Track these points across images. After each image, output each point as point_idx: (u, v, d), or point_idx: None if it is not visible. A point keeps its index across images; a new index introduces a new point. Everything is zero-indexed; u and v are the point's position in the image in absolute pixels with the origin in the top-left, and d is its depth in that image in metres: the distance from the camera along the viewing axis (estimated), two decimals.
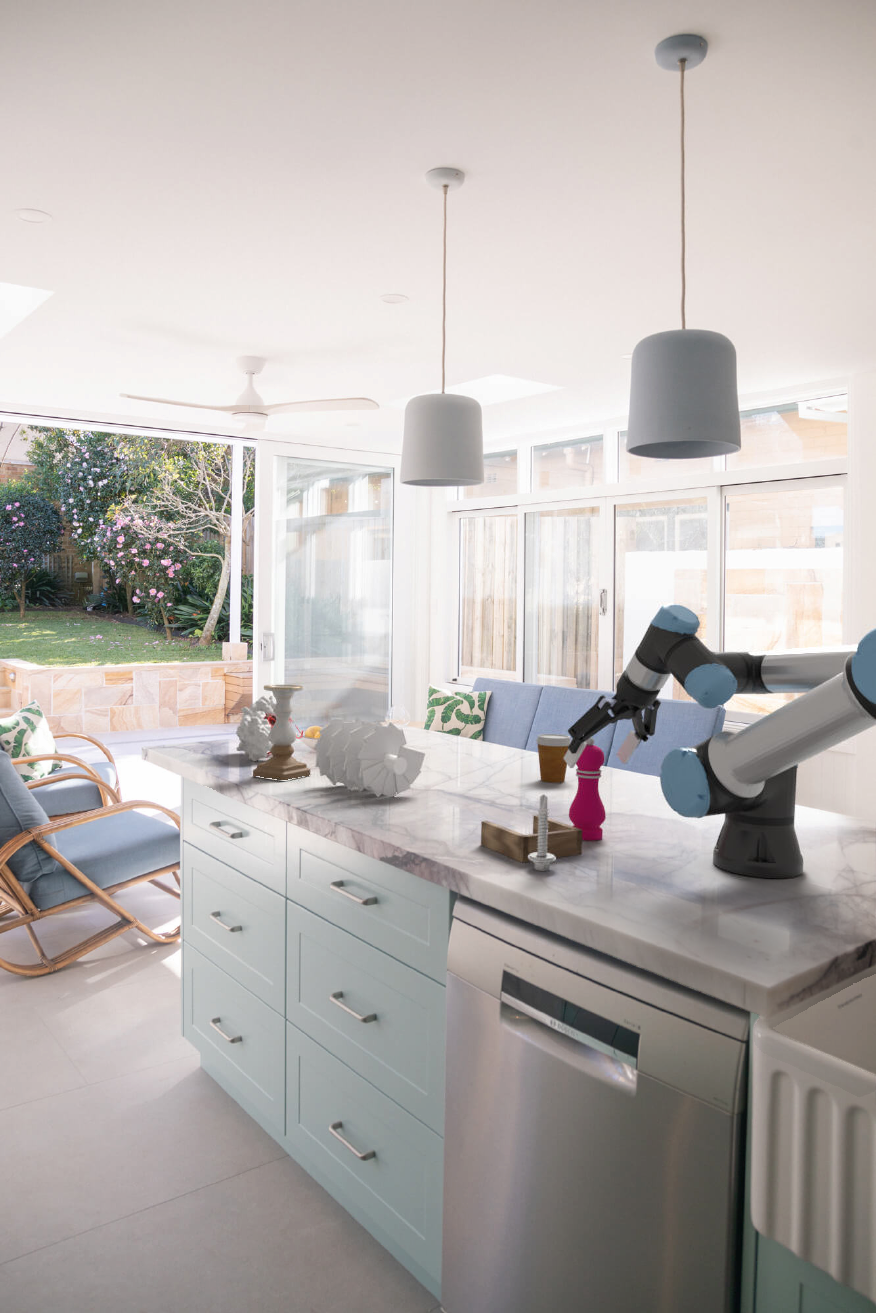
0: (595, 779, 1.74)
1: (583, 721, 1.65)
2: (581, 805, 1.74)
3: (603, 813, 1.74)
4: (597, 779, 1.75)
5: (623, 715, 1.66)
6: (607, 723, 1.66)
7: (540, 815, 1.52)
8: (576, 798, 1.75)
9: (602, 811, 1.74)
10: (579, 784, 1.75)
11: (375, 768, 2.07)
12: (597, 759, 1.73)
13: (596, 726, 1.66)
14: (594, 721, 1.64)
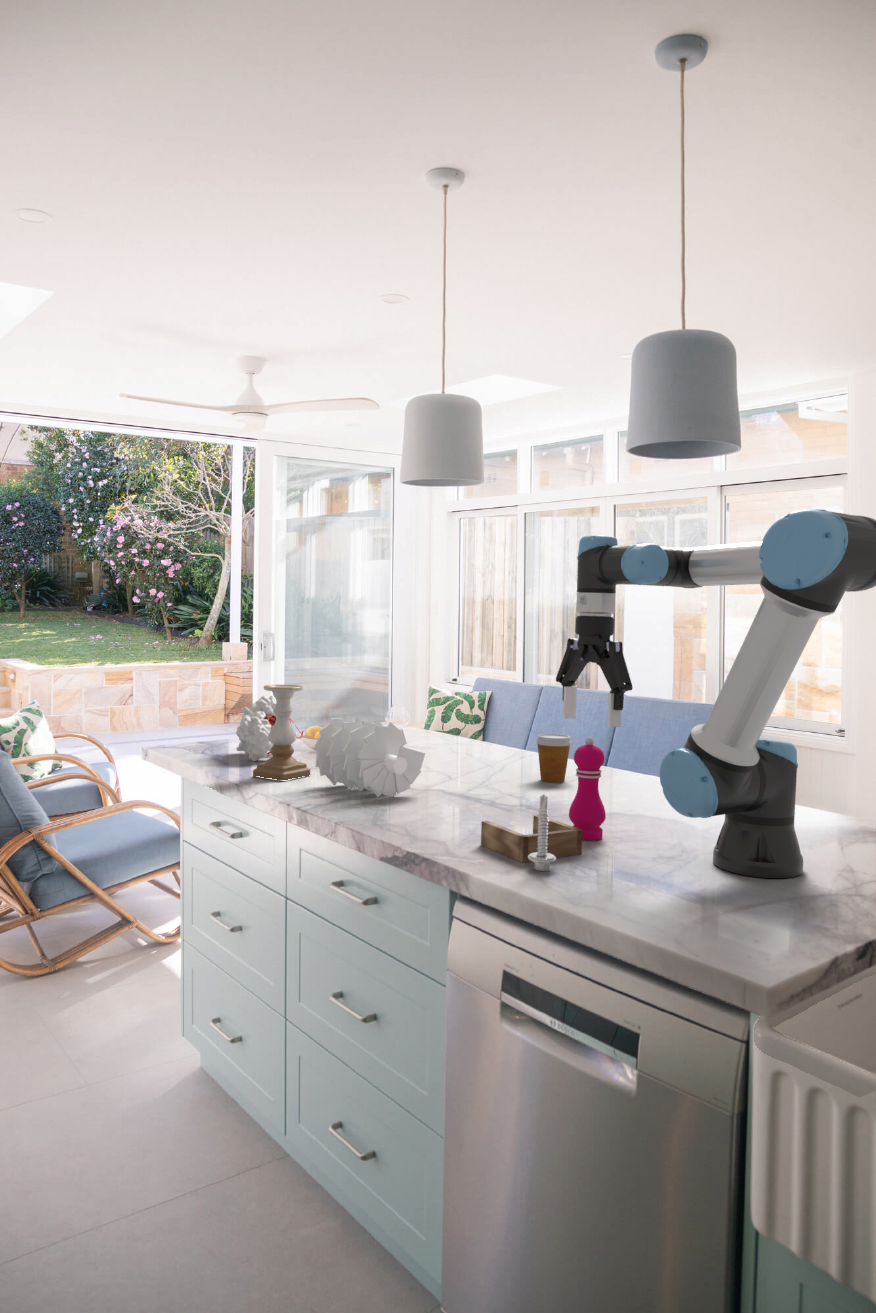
0: (595, 779, 1.74)
1: (622, 670, 1.67)
2: (581, 805, 1.74)
3: (603, 813, 1.74)
4: (597, 779, 1.75)
5: None
6: None
7: (540, 815, 1.52)
8: (576, 798, 1.75)
9: (602, 811, 1.74)
10: (579, 784, 1.75)
11: (375, 768, 2.07)
12: (597, 759, 1.73)
13: None
14: None
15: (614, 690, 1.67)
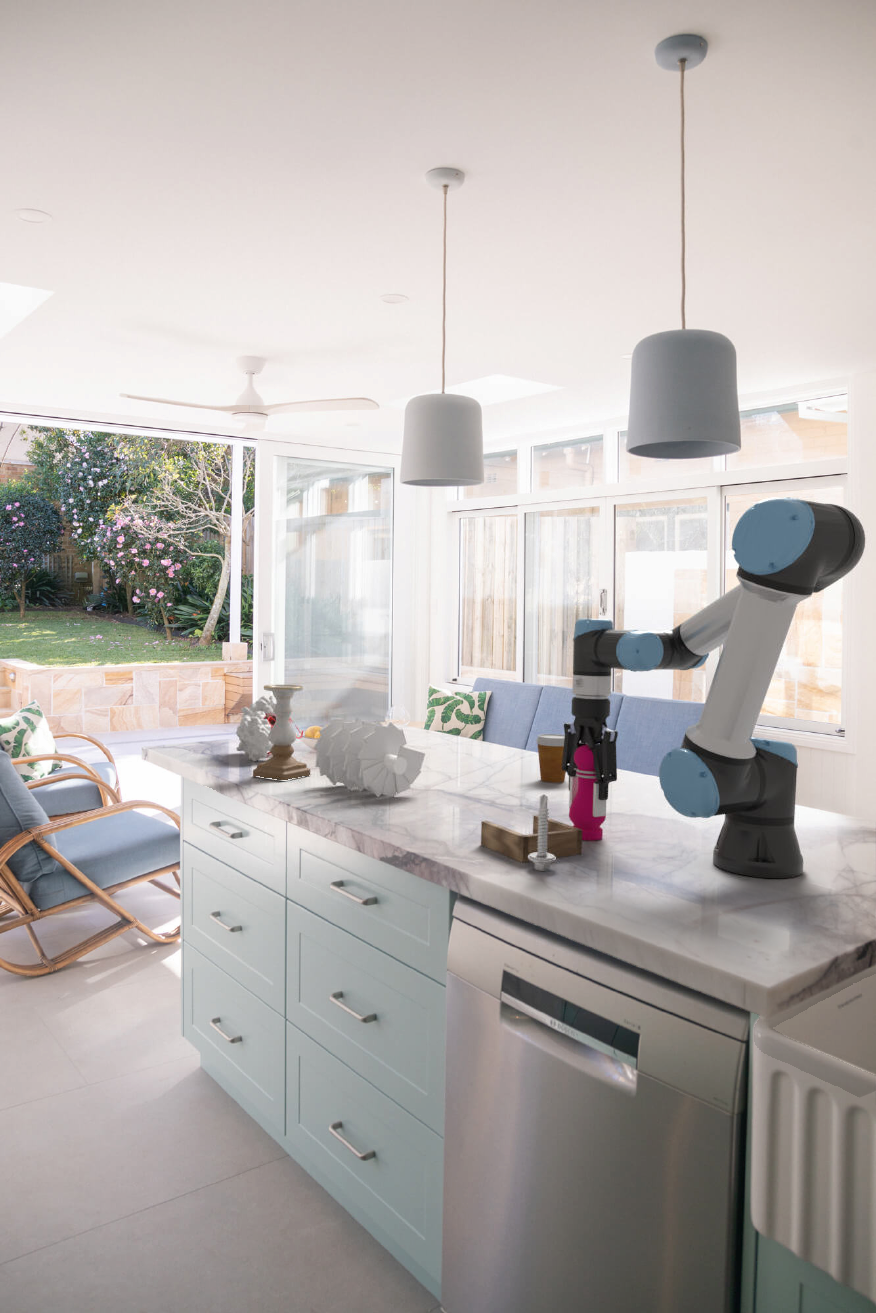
0: (595, 779, 1.74)
1: (611, 762, 1.70)
2: (581, 805, 1.74)
3: None
4: None
5: None
6: None
7: (540, 815, 1.52)
8: (576, 798, 1.75)
9: None
10: (579, 784, 1.75)
11: (375, 768, 2.07)
12: None
13: None
14: None
15: (599, 782, 1.71)
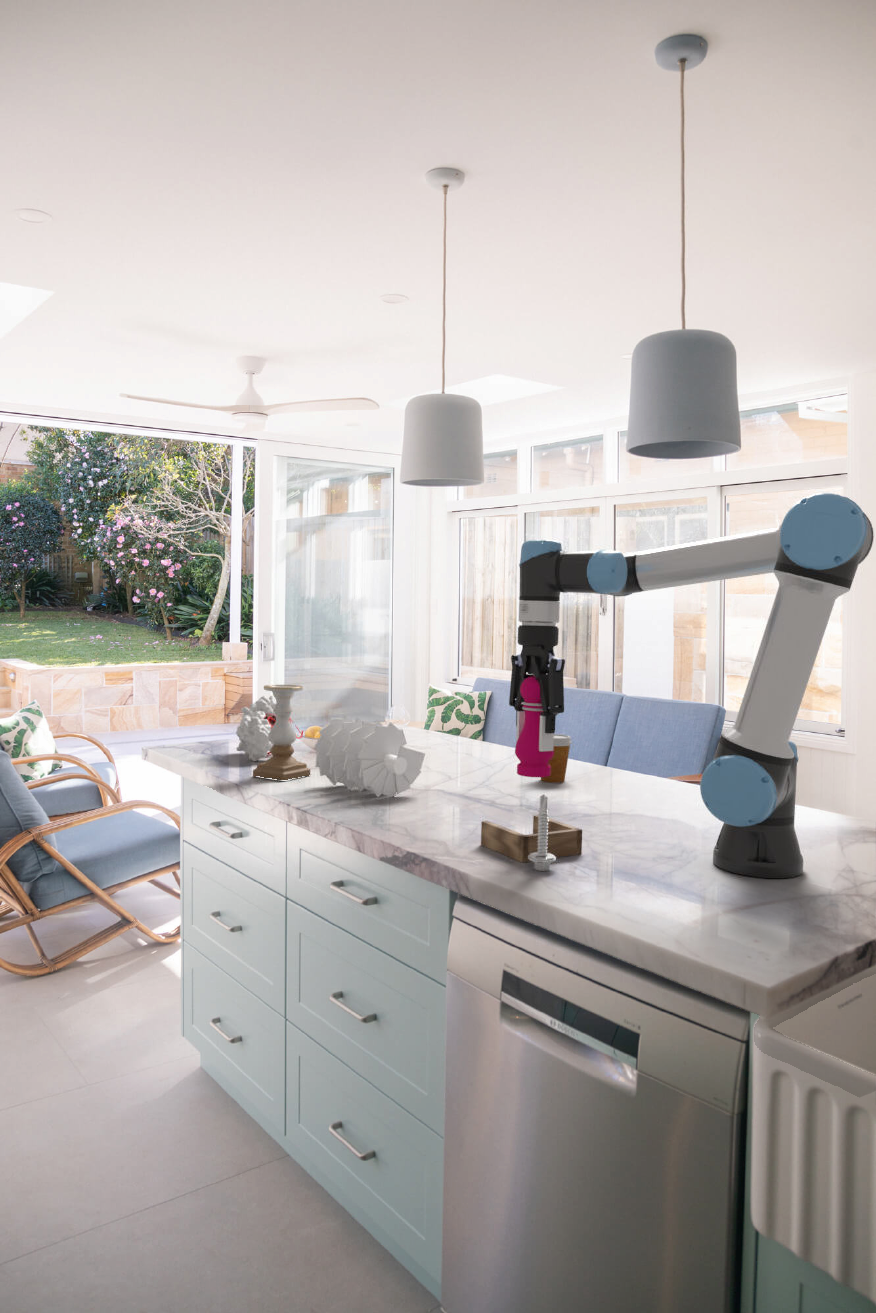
0: None
1: (557, 692, 1.59)
2: (527, 740, 1.63)
3: None
4: None
5: None
6: None
7: (540, 815, 1.52)
8: (522, 733, 1.64)
9: None
10: (525, 718, 1.64)
11: (375, 768, 2.07)
12: None
13: None
14: None
15: (545, 714, 1.60)
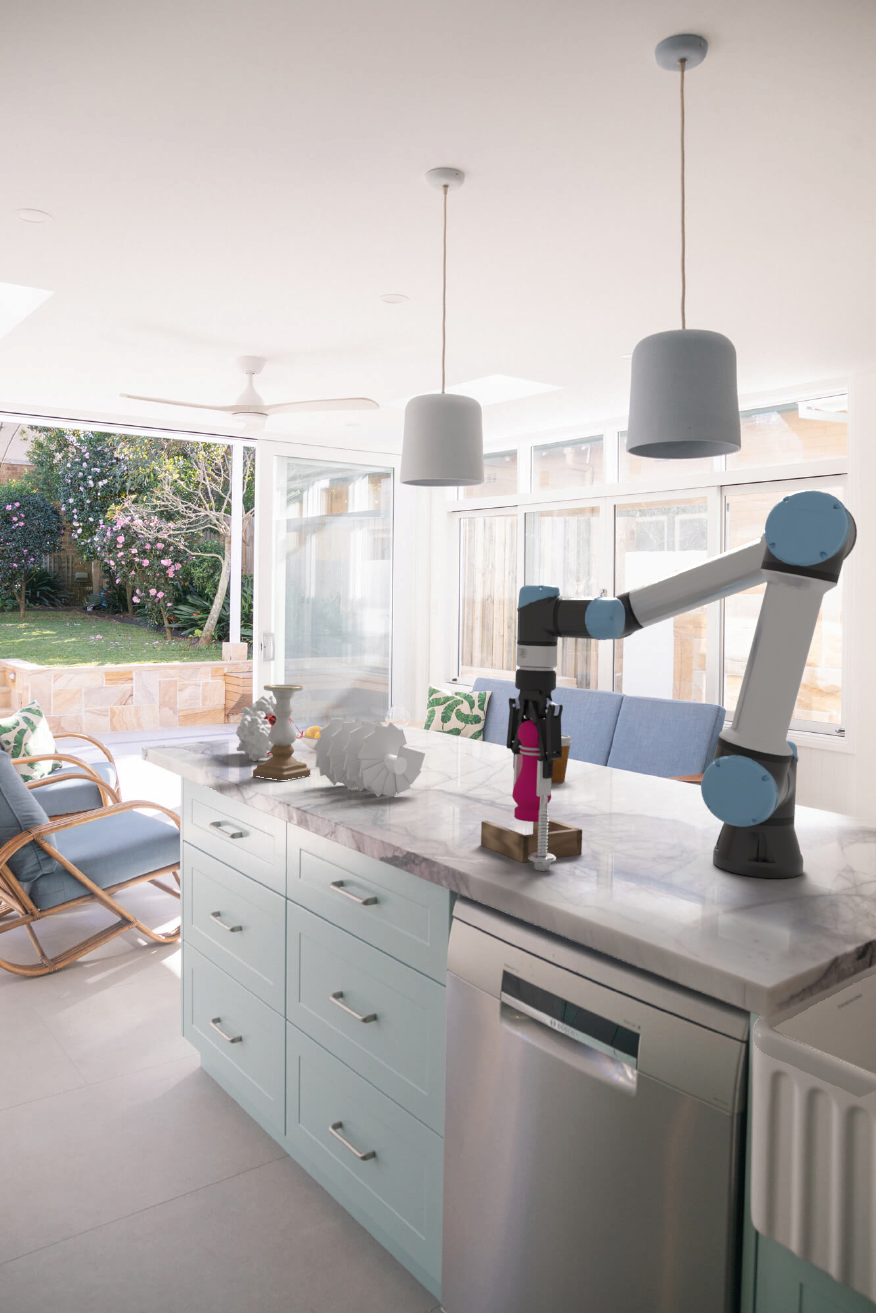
0: (540, 756, 1.63)
1: (555, 738, 1.59)
2: (524, 784, 1.63)
3: None
4: None
5: None
6: None
7: (540, 815, 1.52)
8: (520, 777, 1.64)
9: None
10: (523, 762, 1.64)
11: (375, 768, 2.07)
12: None
13: None
14: None
15: (542, 759, 1.60)
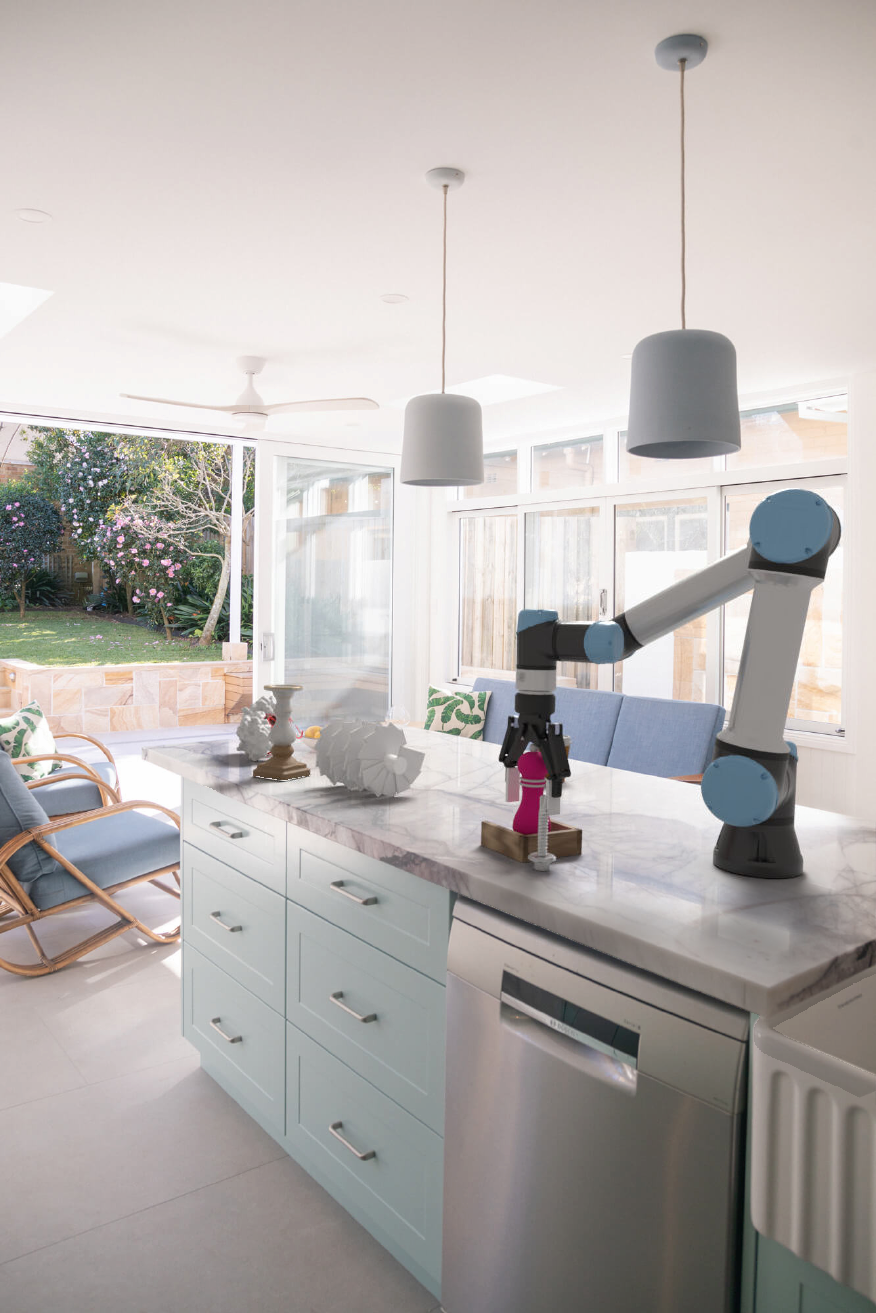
0: (540, 788, 1.63)
1: (561, 756, 1.58)
2: (524, 816, 1.63)
3: (548, 824, 1.64)
4: (542, 788, 1.64)
5: None
6: None
7: (540, 815, 1.52)
8: (520, 808, 1.64)
9: (547, 822, 1.63)
10: (523, 793, 1.65)
11: (375, 768, 2.07)
12: (542, 767, 1.62)
13: None
14: None
15: (551, 777, 1.58)
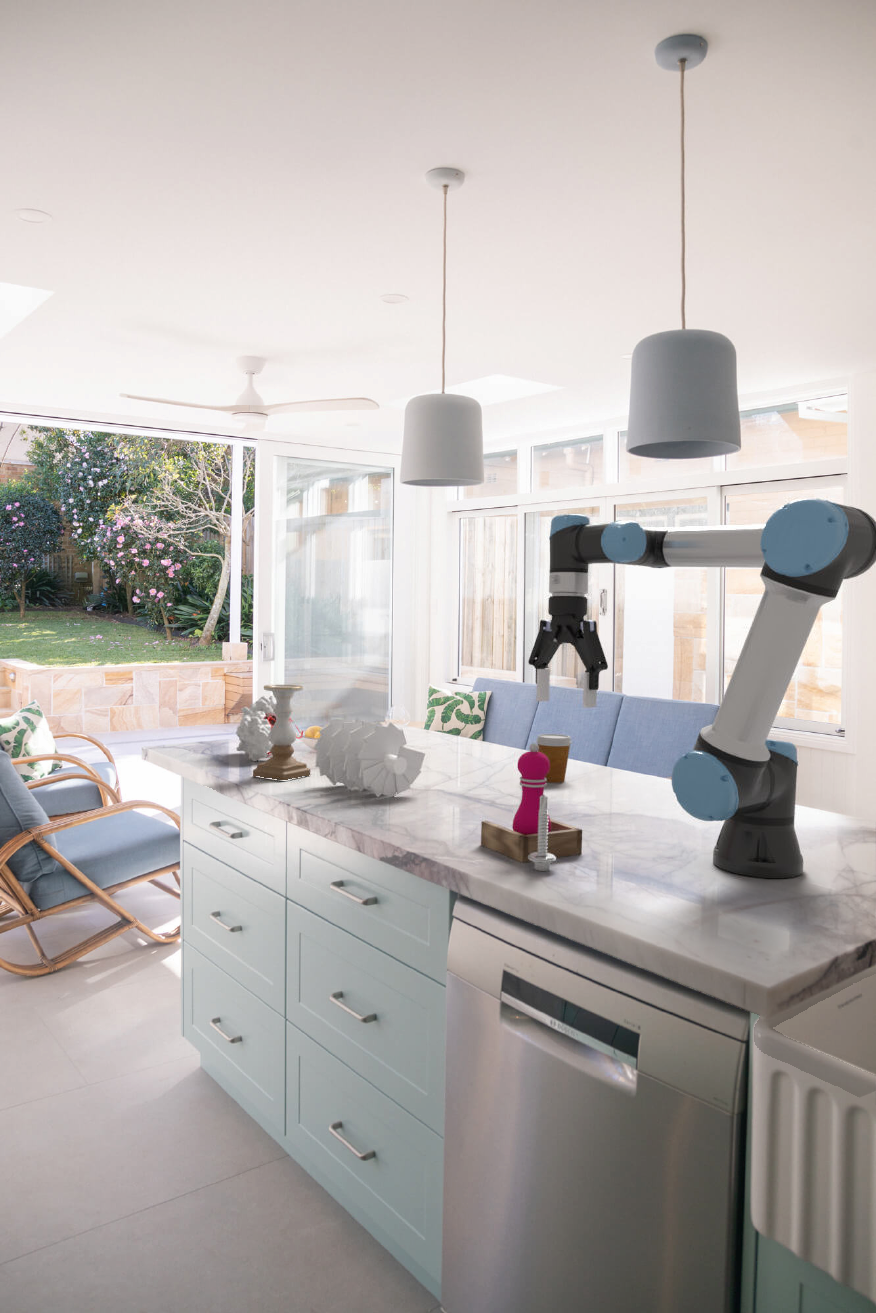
0: (540, 788, 1.63)
1: (597, 649, 1.66)
2: (524, 816, 1.63)
3: (548, 824, 1.64)
4: (542, 788, 1.64)
5: None
6: None
7: (540, 815, 1.52)
8: (520, 808, 1.64)
9: (547, 822, 1.63)
10: (523, 793, 1.65)
11: (375, 768, 2.07)
12: (542, 767, 1.62)
13: None
14: None
15: (589, 669, 1.65)
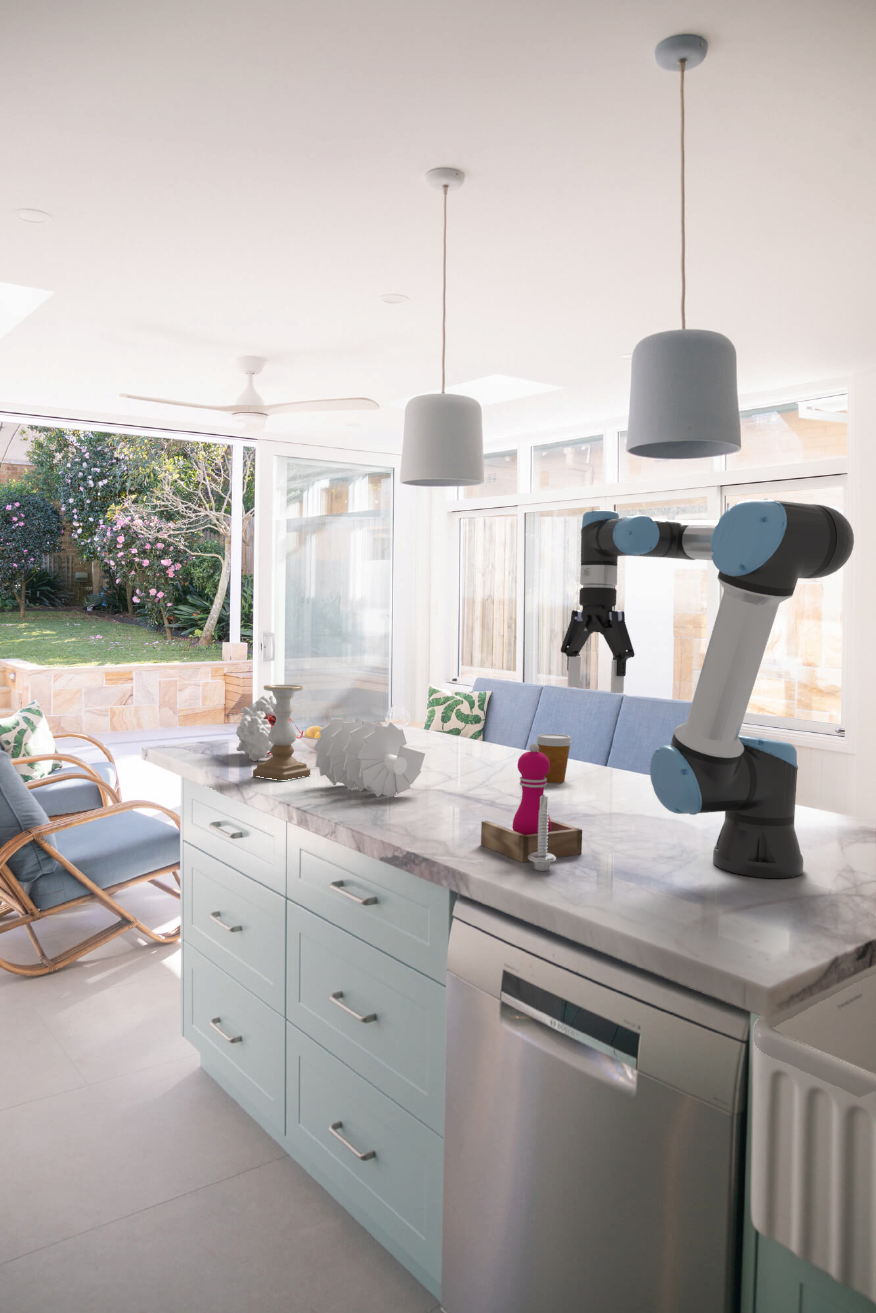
0: (540, 788, 1.63)
1: (624, 638, 1.76)
2: (524, 816, 1.63)
3: (548, 824, 1.64)
4: (542, 788, 1.64)
5: None
6: None
7: (540, 815, 1.52)
8: (520, 808, 1.64)
9: None
10: (523, 793, 1.65)
11: (375, 768, 2.07)
12: (542, 767, 1.62)
13: None
14: None
15: (617, 657, 1.75)
